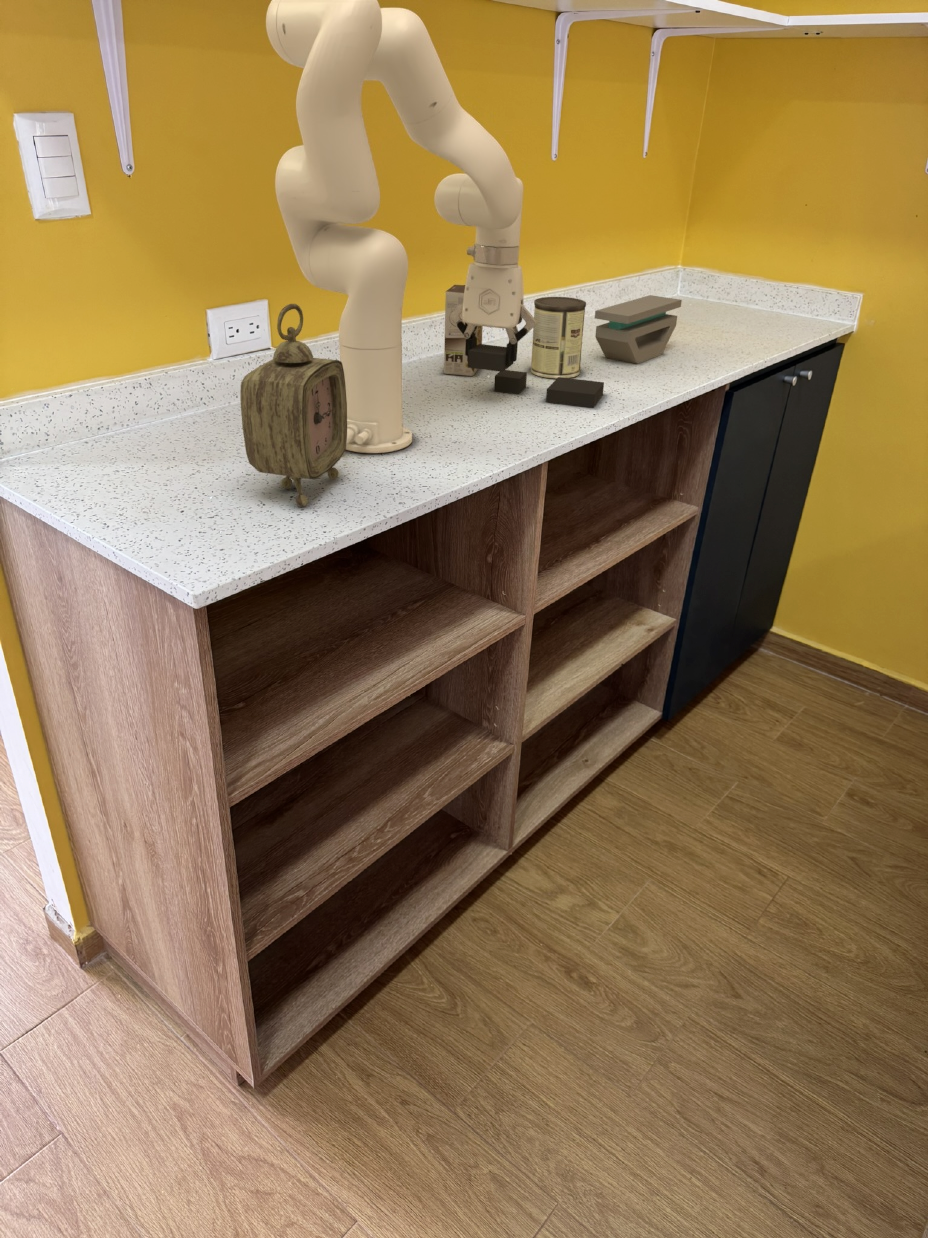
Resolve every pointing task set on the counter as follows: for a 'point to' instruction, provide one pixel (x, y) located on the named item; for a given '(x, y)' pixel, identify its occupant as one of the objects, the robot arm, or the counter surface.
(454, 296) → the coffee box
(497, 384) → the small pad
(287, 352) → the tabletop clock
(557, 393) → the large pad
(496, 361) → the medium pad
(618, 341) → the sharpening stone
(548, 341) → the coffee can
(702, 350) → the counter surface
